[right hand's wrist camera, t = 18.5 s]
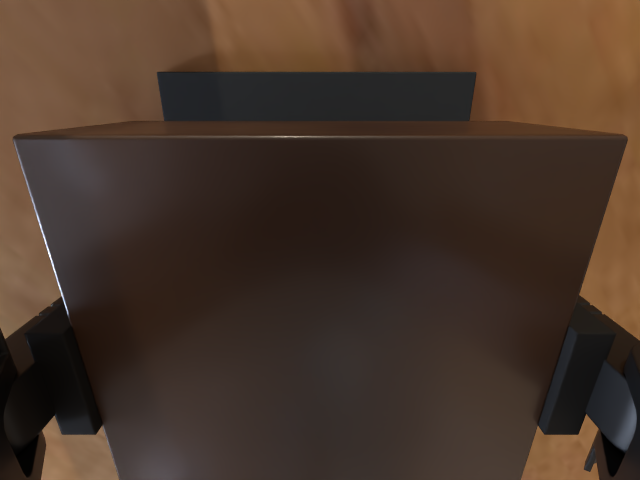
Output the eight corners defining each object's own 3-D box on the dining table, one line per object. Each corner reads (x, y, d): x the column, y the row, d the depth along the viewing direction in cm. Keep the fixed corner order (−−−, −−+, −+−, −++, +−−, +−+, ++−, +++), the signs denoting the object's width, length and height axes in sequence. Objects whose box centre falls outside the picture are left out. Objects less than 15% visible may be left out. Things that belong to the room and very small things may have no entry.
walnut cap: (185, 404, 13) (132, 525, 9) (132, 120, 9) (7, 134, 6) (454, 404, 13) (508, 525, 9) (508, 120, 9) (632, 134, 6)
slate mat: (200, 332, 19) (198, 336, 19) (160, 72, 15) (156, 71, 14) (434, 331, 19) (437, 335, 19) (473, 72, 15) (477, 71, 14)
